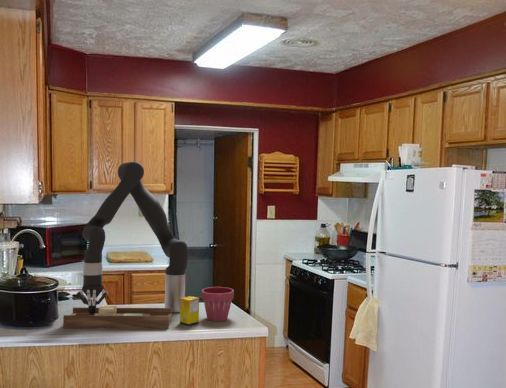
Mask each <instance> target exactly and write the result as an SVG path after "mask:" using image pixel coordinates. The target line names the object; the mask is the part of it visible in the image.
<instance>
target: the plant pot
mask: <svg viewBox="0 0 506 388" xmlns="http://www.w3.org/2000/svg"><path fill="white" fill-rule="evenodd" d="M234 296H235V291H234V289H233V288H230V287H225V286H224V287H223V286H210V287H205V288H202V290H201V300H203V304H204V309H205V313H206V318H207V320H209V321H211V322H222V321H227V319H228V316H229V313H230V309H231V306H232V300H234V298H235V297H234Z"/></svg>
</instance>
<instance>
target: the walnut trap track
mask: <svg viewBox="0 0 506 388" xmlns="http://www.w3.org/2000/svg"><path fill="white" fill-rule="evenodd" d="M99 308H100V307H96V313H95V314H94V315H90V313H89V312H88V307H81V306H80V307H75V306H73V307H72V313H71V314H64V315H63V318H62V319H63V320H62V321H63V322H62V324H63V325H62V328H63V329H147V330H148V329H150V330H152V329H162V330H163V329H165V330H166V329H169V328H170V325H171V322H172V316H173V315H172V313H173V312H172V308H165V307H117V308H116V315H99Z"/></svg>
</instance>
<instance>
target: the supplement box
mask: <svg viewBox="0 0 506 388" xmlns="http://www.w3.org/2000/svg"><path fill="white" fill-rule="evenodd" d="M199 316H200V297H196V296H192V295H189V296H185V297H183V298H180V312H179V324H181V325H184V326H188V327H190V326H193V325H196V324H199V323H200V321H199V319H200V317H199Z"/></svg>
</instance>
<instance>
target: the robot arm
mask: <svg viewBox="0 0 506 388" xmlns="http://www.w3.org/2000/svg"><path fill="white" fill-rule="evenodd" d="M117 175H118V176H117V177H118V178H119V180H120V181H119V183H118V184H117V186H116V187H115V189H114V190H113V191H112V192H111V193H110V194H109V195H107V197H106V198H105V199H104V201H102V203H101V205H100V206H99V208H98V210H97V212H96V213H95V214H94V216H93V217H92V218H91V219H90V220H89V221H88V222H87V223H86V225H85V226H84V228H83V230H82V238H83V240H85V241H86V242H88V248H86V249H85V250H84V255H83V256H84V258H83V259H84V262H83V263H84V264H83V271H82V275H83V276H82V278H83V281H82V283H83V284H82V287H81V290H79V291H77V293H76V295H77V297H78V298H79V300H81V302H82V303H83V304H84V305H86V306H88V307H87V308H88V312H89V313H90V315H94V314H95V313H96V308H97V305H100V304H101V302H102V301H103V300H104V299H105V298H106V297H107V295H108V294H109V291H106V290H105V289H104V286H103V250H104V246H105V242H106V232H105V229H104V227H105V226H107V225H109V224H111V222H112V221H113V219H114V217H115V216H116V214H117V213H118V211H119V209H120V207H121V206H122V204H123V203H124V202H125V200H126V198H127V197H128V196H129V194H130V195H131V197H132V198H133V201H134V202H135V204H136V205H137V207H138V209H139V211H140V212H141V214H142V216H143V218H144V220H145V221H146V222H147V224H148V225H149V227H150V228H151V231H152V232H153V233H154V235H155V236H156V240H157V241H158V242H159V245H160V247H161V249H162V252H163V253H164V255H165V256H166V257H167V258H169V263H168V266H167V267H166V268H165V276H164V281H165V283H164V308H172V313H180V298H183V297H186V270H187V267H188V259H189V258H188V257H189V248H188V244H187V243H186V242H185V241H183V240H179V239H177V238H176V237H175V236H174V234H173V233H172V231H171V230H170V227H169V223H168V218H167V215H166V212H165V210H164V208H163V207H162V205H161V203H160V201H159V200H158V199H157V198H156V197H155V196H154V195H153V194H152V193H151V192H150V190H148V189H147V187H145V184H143V182H142V179H143V177H144V175H145V169H144V166H143V165H142V164H141V163H139V162H137V161H127V162H123V163H121V164H120V165H119V166H118V169H117ZM84 294H85V295H84ZM100 294H101V297H100V298H99V299H98V297H99V296H100Z"/></svg>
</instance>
